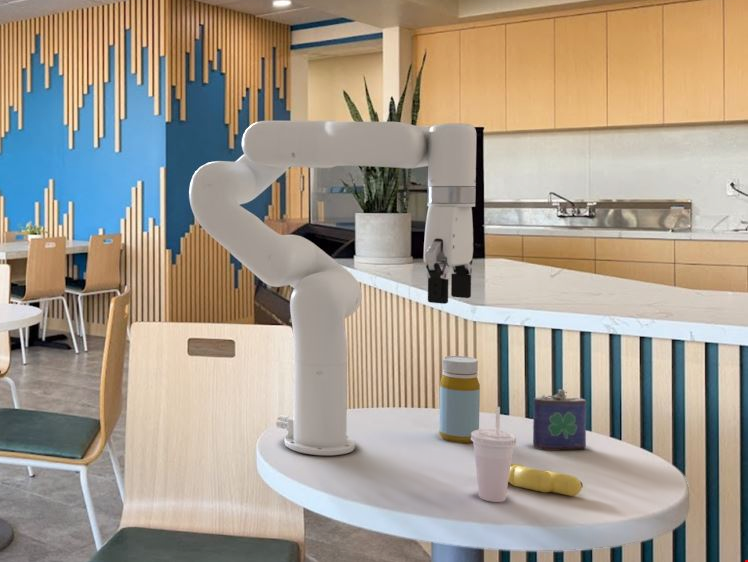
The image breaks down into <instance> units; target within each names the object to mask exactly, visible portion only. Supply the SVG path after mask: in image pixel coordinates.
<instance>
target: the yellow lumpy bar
mask: <svg viewBox="0 0 748 562" xmlns="http://www.w3.org/2000/svg"><path fill="white" fill-rule="evenodd" d="M508 484H511V486H514V487H517V488H522V489H527V490H531V491H535V492H536V491H537V492H541V493H549V492H551V493H555V494H561V495H565V496H570V497H572V496H573V497H574V496H577V495H579V494H580V493H581V491H582V488H583V487H584V485H583V482H582V481H581V480H580V479H579V478H578V477H576V476H575V475H570V474H565V473H561V472H556V471H552V470H544V469H543V470H542V469H538V468H537V469H536V468H532V467H527V466H523V465H521V464H516V463H512V462H511V467H510V474H509V480H508Z"/></svg>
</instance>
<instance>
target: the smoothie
mask: <svg viewBox="0 0 748 562" xmlns="http://www.w3.org/2000/svg"><path fill="white" fill-rule="evenodd" d="M500 419H501V406H495V429H489V428H488V429H487V428H486V429H485V428H483V429H479V430H475V431H473V432H472V433H471V440H472V441H473V442H472V443H473V452H474V462H475V471H476V479H477V489H478V496H479V498H480V499H481V500H483V501H487V502H490V503H502V502H505V501H506V498H507V493H508V487H509V482H508V480H509V474H510V467H511V463H512V460H513V455H514V448H515V446H516V445H517V437H516V435H514V434H513V433H511V432H508V431H504V430H500V425H501V423H500V422H501V420H500Z"/></svg>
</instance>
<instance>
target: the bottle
mask: <svg viewBox="0 0 748 562" xmlns="http://www.w3.org/2000/svg"><path fill="white" fill-rule="evenodd" d="M478 368H479V361H478V359H477V358H475V357H470V356H465V355H464V356H462V355H447V356H444V357H442V376H441V379H440V381H439V412H438V413H439V415H438V417H439V419H438V420H439V421H438V422H439V423H438V424H439V425H438V430H439V431H438V433H439V435H440V436H441V438H442V439H444V440H445V441H450V442H454V443H462V444H464V443H467V444H469V443H473V441H472V440H471V433H472V432H473V431H475V430H480V402H481V401H480V400H481V397H480V396H481V386H480V385H481V384H480V382H479V378H478V371H479V369H478Z"/></svg>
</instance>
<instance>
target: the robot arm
mask: <svg viewBox="0 0 748 562" xmlns="http://www.w3.org/2000/svg"><path fill="white" fill-rule="evenodd" d="M241 149H242V152H243V154H242V155H241V156H240V157H239V158H238V159H236V160H235V161H229V160H227V161H226V160H216V161H211V162H207V163H205V164H203V165H201V166H200V167H199V168H197V170H196V171H194V174H193V175H192V177H191V180H190V183H189V190H188V199H189V203H190V204H189V205H190V209H191V211H192V214H193V216H194V218H195V220H196V221H197V223H198V224H199V226H200V227H201V228H202V229H203V230H204V231H205V233H207V235H209V236H210V237H211V238H212V239H213V240H215V241H216V242H217V243H218V244H220V246H222V247H223V248H224V249H225V250H226V251H228V253H230V254H231V255H232V256H233V257H234V258H235V259H236V260H238V261H239V262H240V264H242V265H243V266H244V267H246V269H248V270H249V272H251V273H252V274H254V276H256V277H257V278H258V279H259V280H260V281H261V282H263V283H264V284H266V285H268V286H270V287H275V288H280V287H284V286H285V287H286V286H290V287H291V288H293V289H292V292H291V295H290V299H289V310H290V311H289V312H290V318H291V325H292V337H293V338H292V339H293V340H292V342H293V401H292V402H293V405H292V407H293V408H292V409H293V410H292V411H293V412H292V414H293V416H292V417H290V416H289V415H283V414H279V415H278V417H277V420H276V422H275V426H276V428H278V429H282V430H283V429H285V430H286V431H287V434H286V435H285V436H284V445H285V447H287V448H288V449H289V450H292V451H294V452H297V453H301V454H306V455H311V456H312V455H313V456H340V455H345V454H349V453H351V452H353V451H354V450H355V449H356V441H355V439H354V438H352V437H351V436H348V435H347V425H348V424H347V422H348V421H347V420H348V418H347V417H348V416H347V415H348V412H347V410H348V407H347V406H348V341H347V332H346V327H345V319H347V318H349V317H350V316H352V315H353V314H355V313H356V312H357V310H358V309H359V307H360V305H361V303H362V299H363V293H362V292H363V291H362V288H361V285H360V283H359V281H358V279H356V277H355V276H354V275H353V274H352V273H351V272H350V271H348V269H346V268H345V267H344V266H342V265H341V264H340V263H339V262H337V261H336V260H335V259H334V258H333V257H332V256H330V255H329V254H328V253H326V251H324V250H323V249H321V248H320V247H319V246H317V244H315V243H314V242H312V241H311V240H309V239H307V238H305V237H304V236H302V235H299V234H298V235H297V234H281V233H278V232H277V231H275V230H274V229H272V228H271V227H270V226H268V225H267V224H266V223H265V222H263V221H262V220H261V218H260V217H257V216H256V214H254V213H252V212H250V211H249V210H247V209H246V208H244V207H243V206H241V205H244V204H248V203H249V202H251V201H253V200H255V199H256V198H257V197H259V196H260V195H261V194H262V193H263V192H265V190H266V189H268V188H269V187H270V186H271V185H272V184H273V183H274V182H275V181H276V180H278V179H279V178H281V176H283V174H284V173H286V172H287V171H288V170H289V169H290V168H309V169H333V168H334V167H345V166H346V167H377V168H379V167H381V168H395V169H396V168H399V169H418V168H423V167H427V201H426V202H427V205H426V206H427V207H428V208H427V213H426V219H425V227H424V228H425V229H424V242H423V263H424V264H425V268H426V270H427V272H426V277H427V303H432V304H442V305H445V304H448V303H449V278H447V275H448V273H449V270H450V268H452V271H453V273H451V275H450V277H451V279H450V280H451V281H450V286H451V287H450V295H451V297H452V298H461V299H462V298H463V299H470V298H471V297H472V273H473V267H472V264H473V256H474V255H473V254H474V226H473V225H474V223H473V209H472V208H473V207H474V208H475V207H476V190H477V189H476V187H477V185H476V184H477V182H476V181H477V179H476V177H477V169H476V168H477V131H476V127H475V126H474V125H473V124H470V123H465V122H448V123H447V122H446V123H445V122H443V123H438V124H435V125H432V126H421V125H415V124H412V123H411V124H410V123H407V122H401V121H336V120H260V121H256V122H255V123H252V124H250V125H249V126H248V127H247V128H246V129H245V131H244V133H243V135H242V137H241Z"/></svg>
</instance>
